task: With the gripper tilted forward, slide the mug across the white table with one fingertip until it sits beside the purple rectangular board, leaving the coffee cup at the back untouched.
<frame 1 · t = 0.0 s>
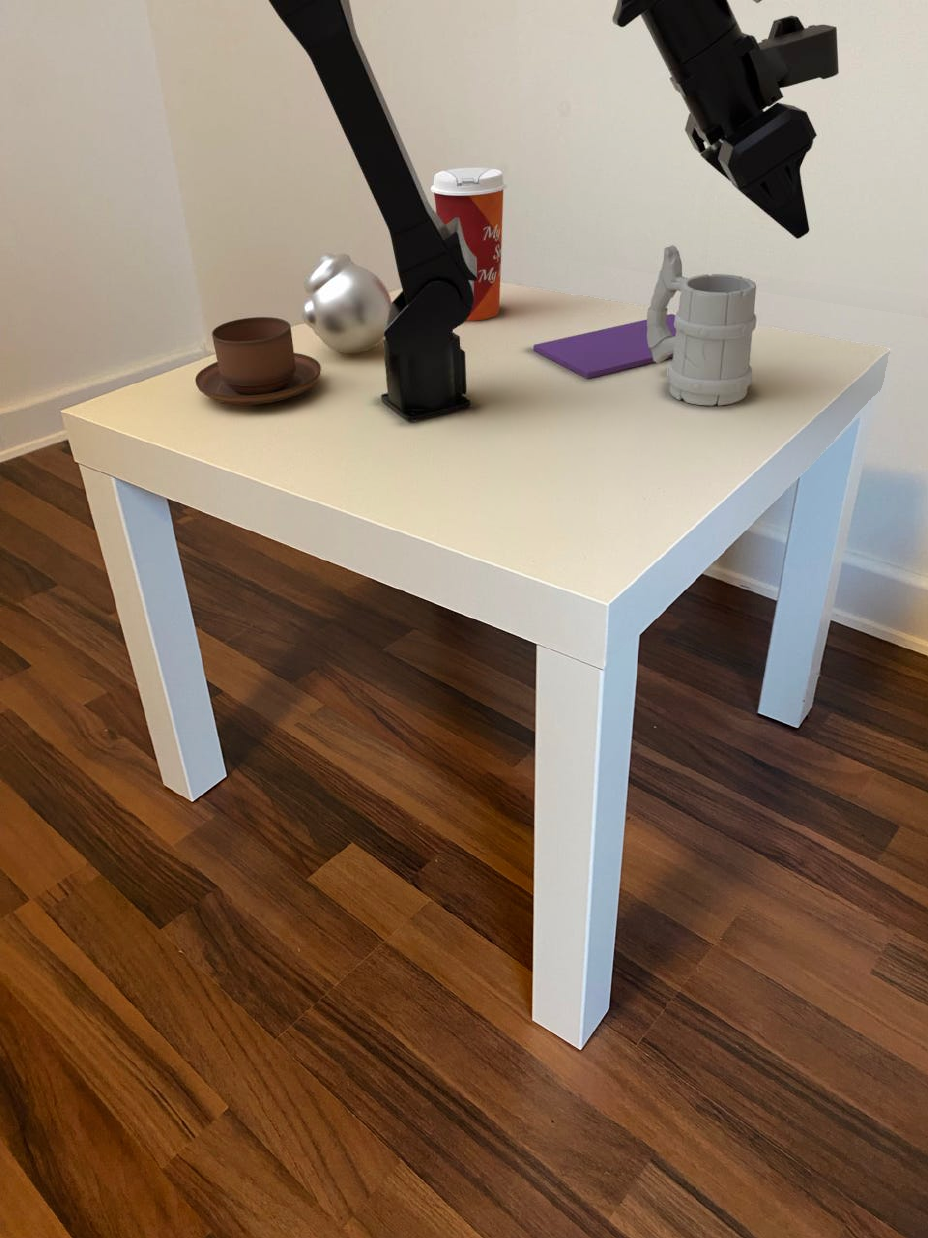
hand: (787, 221, 82), 15 cm above the table, tool tilted 35°, fingers open, 9 cm apart
silver lumpy ball: (351, 352, 104), on the table
mug: (690, 387, 92), on the table
purple rectangular board: (632, 346, 102), on the table
coffee cup: (473, 314, 114), on the table
cup and saucer: (261, 393, 95), on the table
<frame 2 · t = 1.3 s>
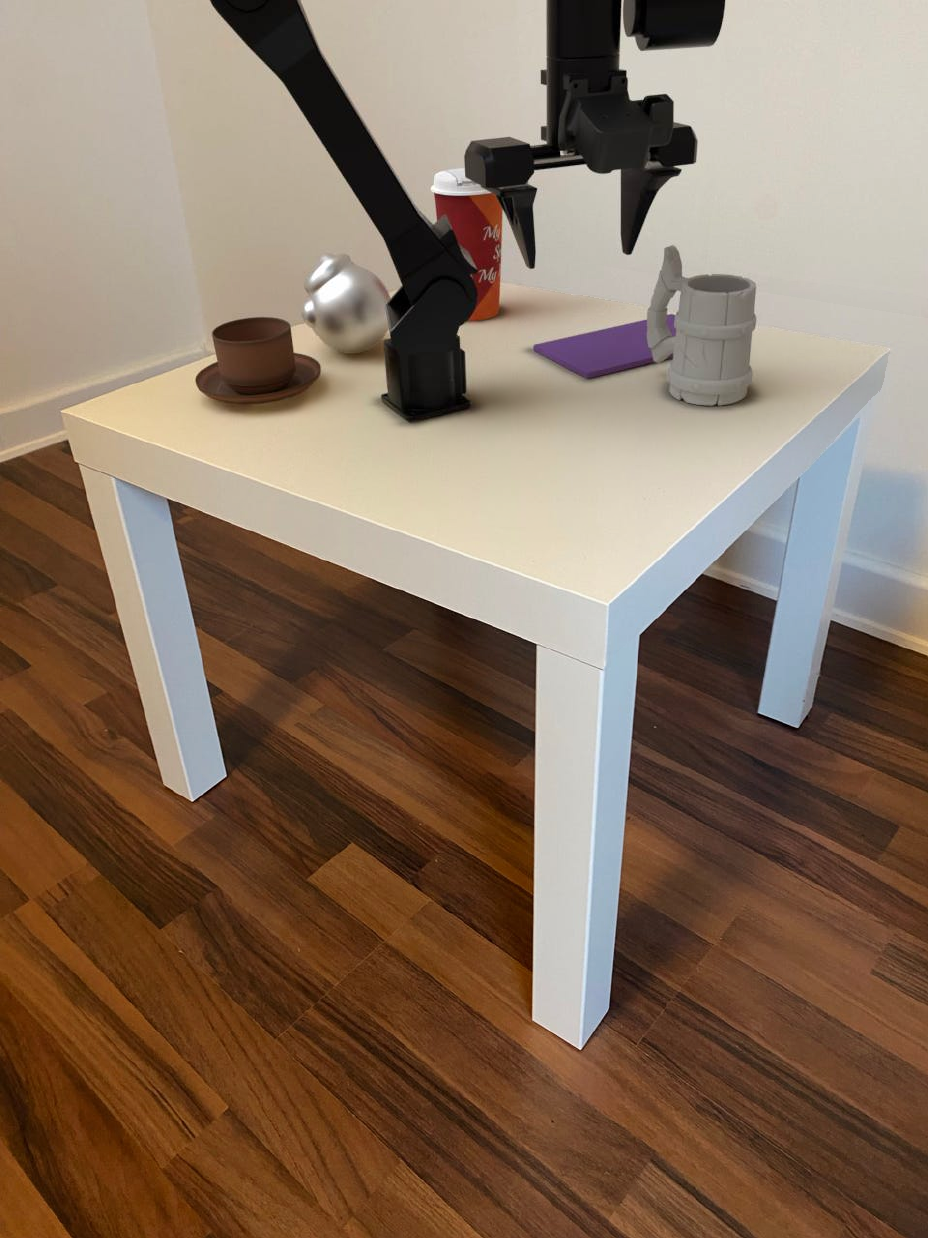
hand: (579, 260, 85), 12 cm above the table, tool pointing down, fingers open, 9 cm apart
nothing on the table moved.
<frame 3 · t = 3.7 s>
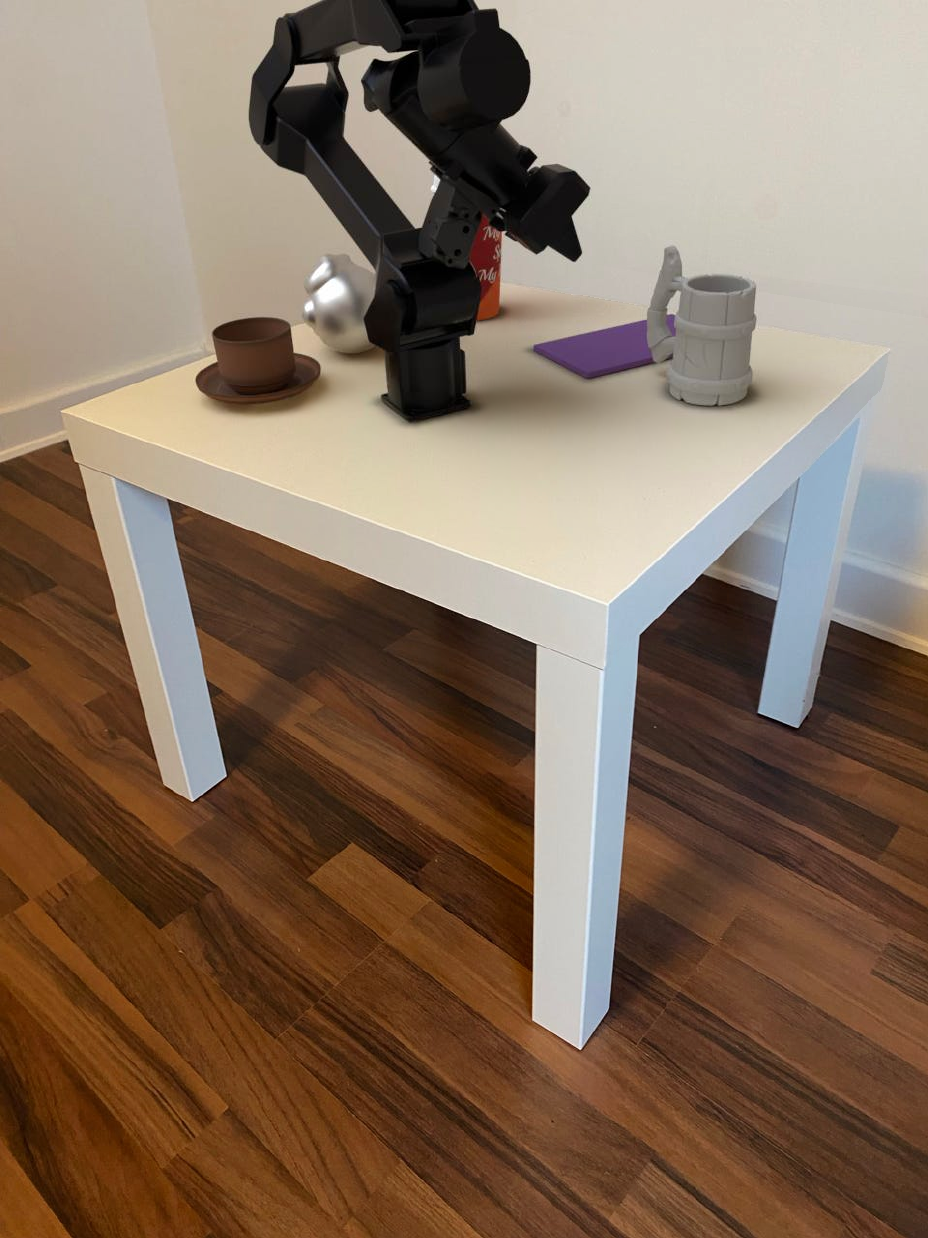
hand: (577, 256, 85), 12 cm above the table, tool tilted 45°, fingers closed
nothing on the table moved.
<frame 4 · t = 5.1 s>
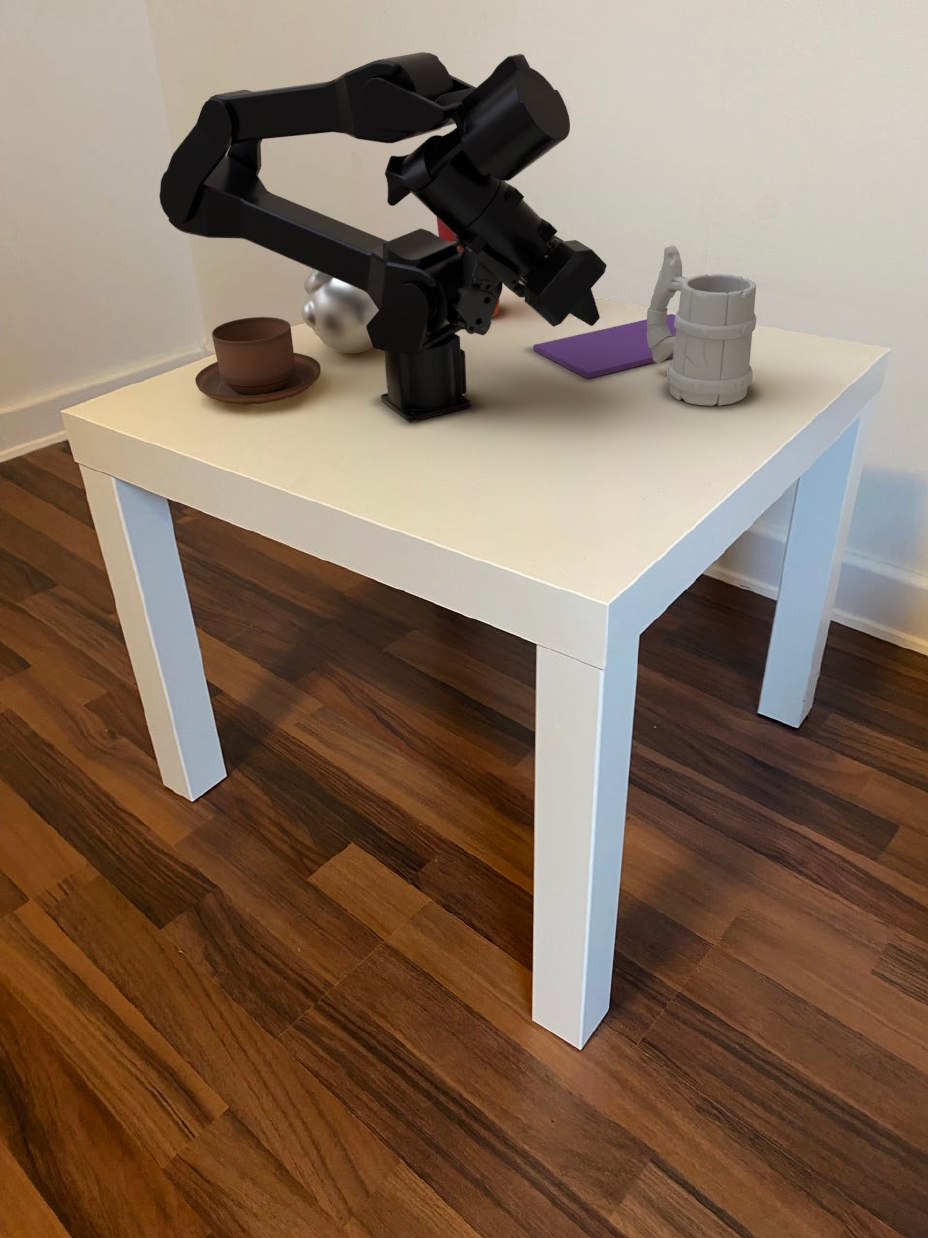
hand: (594, 320, 88), 7 cm above the table, tool tilted 45°, fingers closed
nothing on the table moved.
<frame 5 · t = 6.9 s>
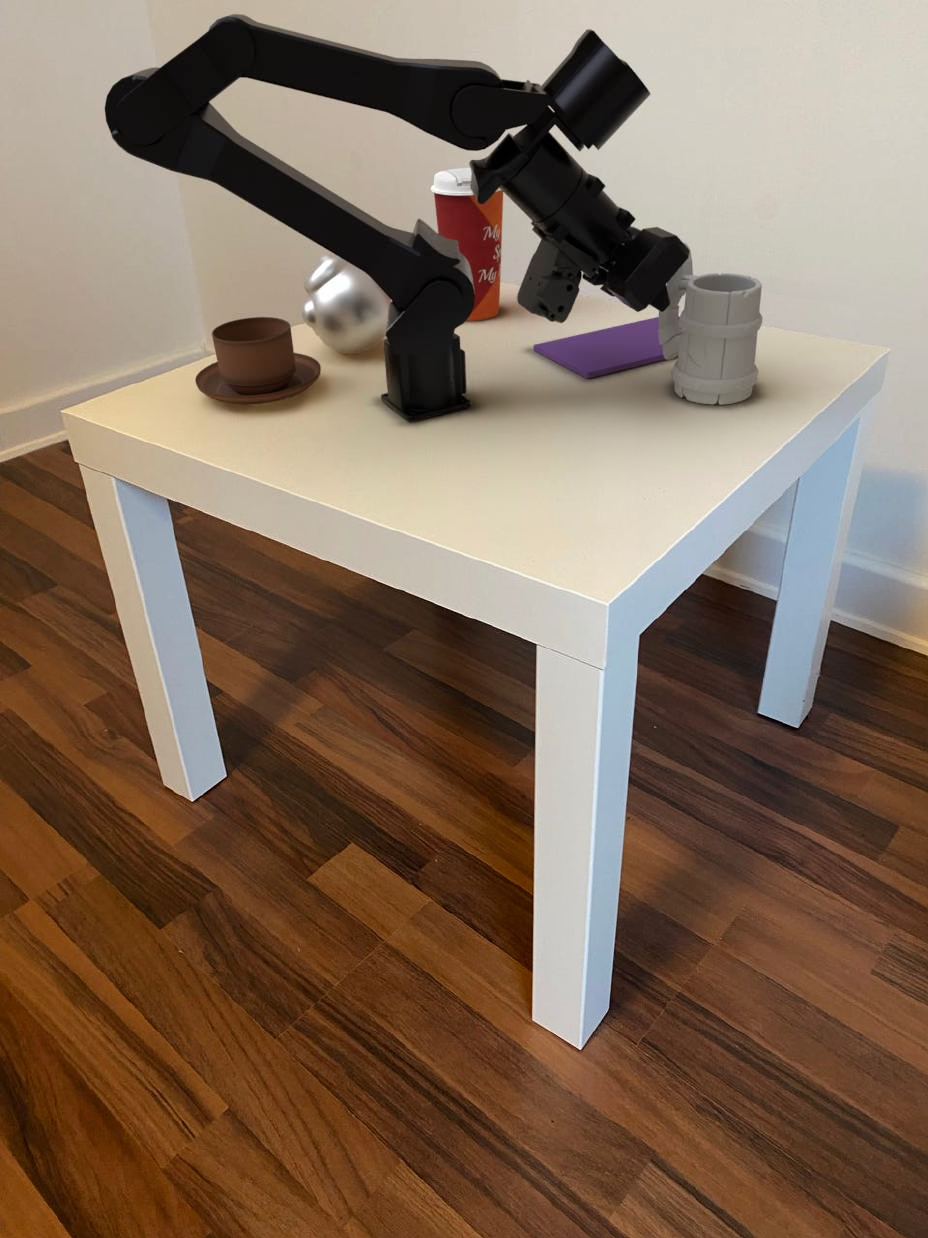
hand: (665, 307, 90), 7 cm above the table, tool tilted 45°, fingers closed
mug: (697, 386, 92), on the table, touching gripper
everything else where it was.
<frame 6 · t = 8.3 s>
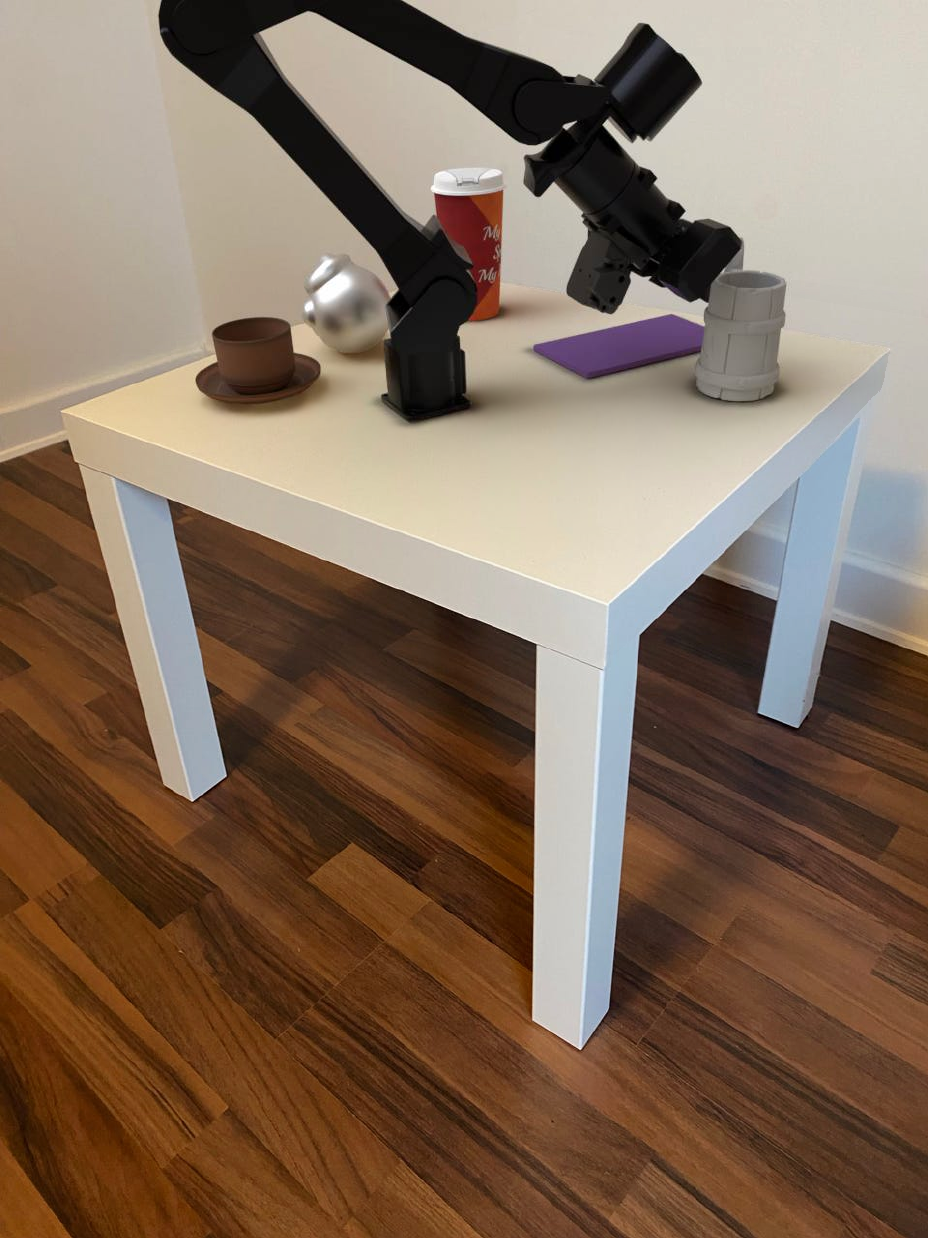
hand: (710, 298, 91), 7 cm above the table, tool tilted 45°, fingers closed
mug: (729, 381, 93), on the table, touching gripper
everything else where it was.
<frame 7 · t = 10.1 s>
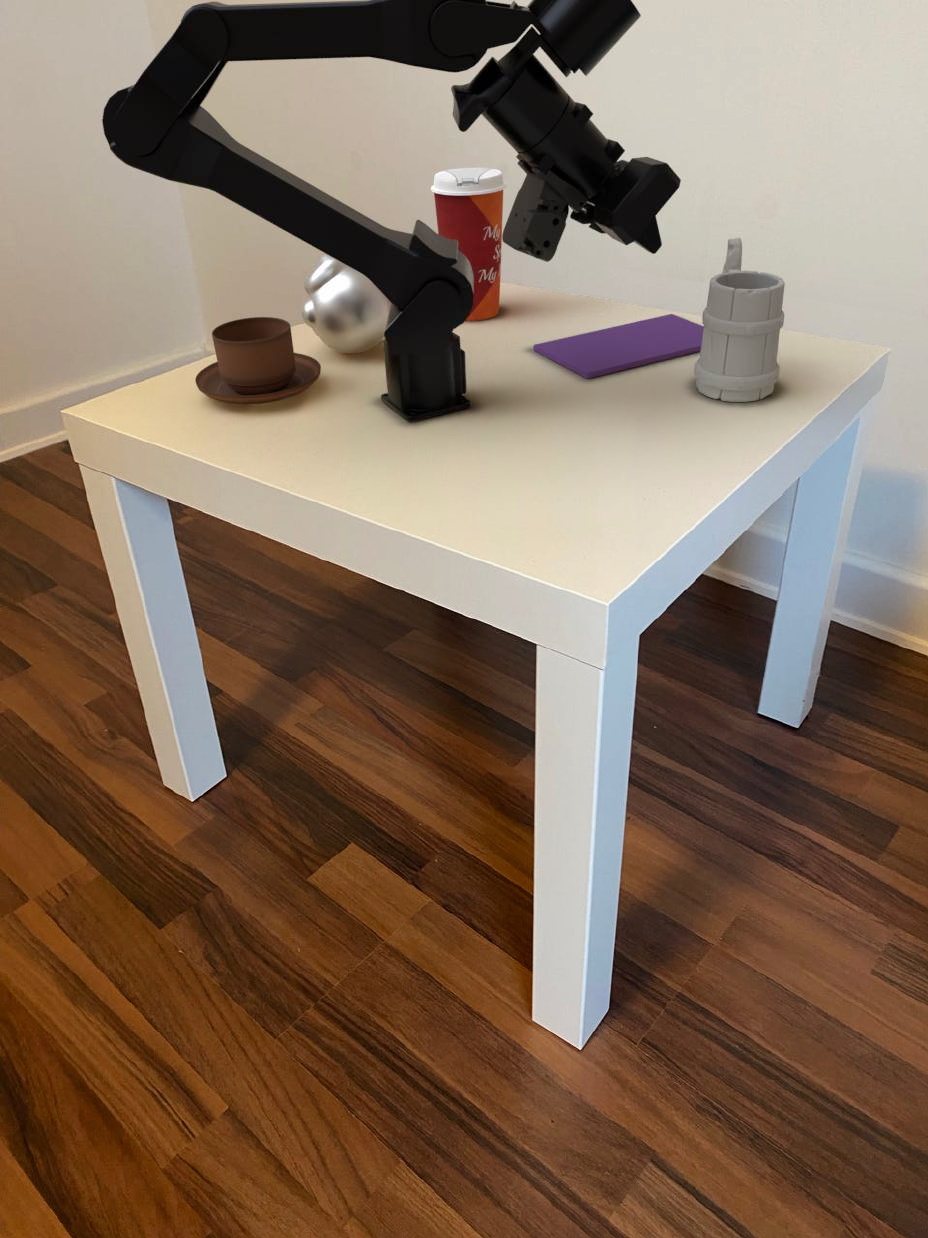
hand: (656, 248, 87), 12 cm above the table, tool tilted 45°, fingers closed
mug: (729, 382, 93), on the table
everything else where it was.
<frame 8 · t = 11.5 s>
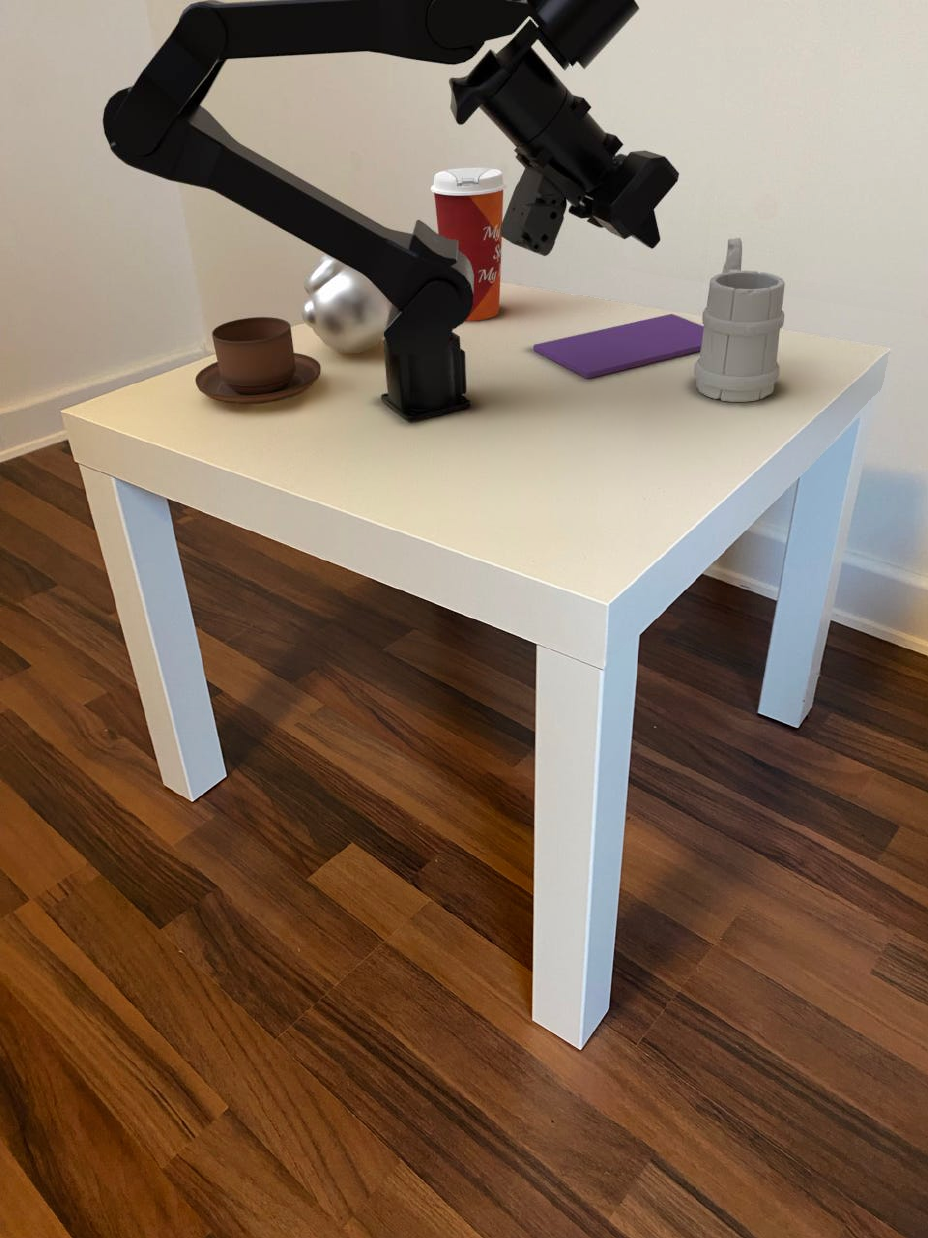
hand: (655, 243, 87), 13 cm above the table, tool tilted 45°, fingers closed
nothing on the table moved.
at the end: mug inside the target area on the table beside the purple rectangular board (5.1 cm from its centre), on the table; mug moved 4.0 cm from its start; coffee cup moved 0.2 cm from its start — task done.
